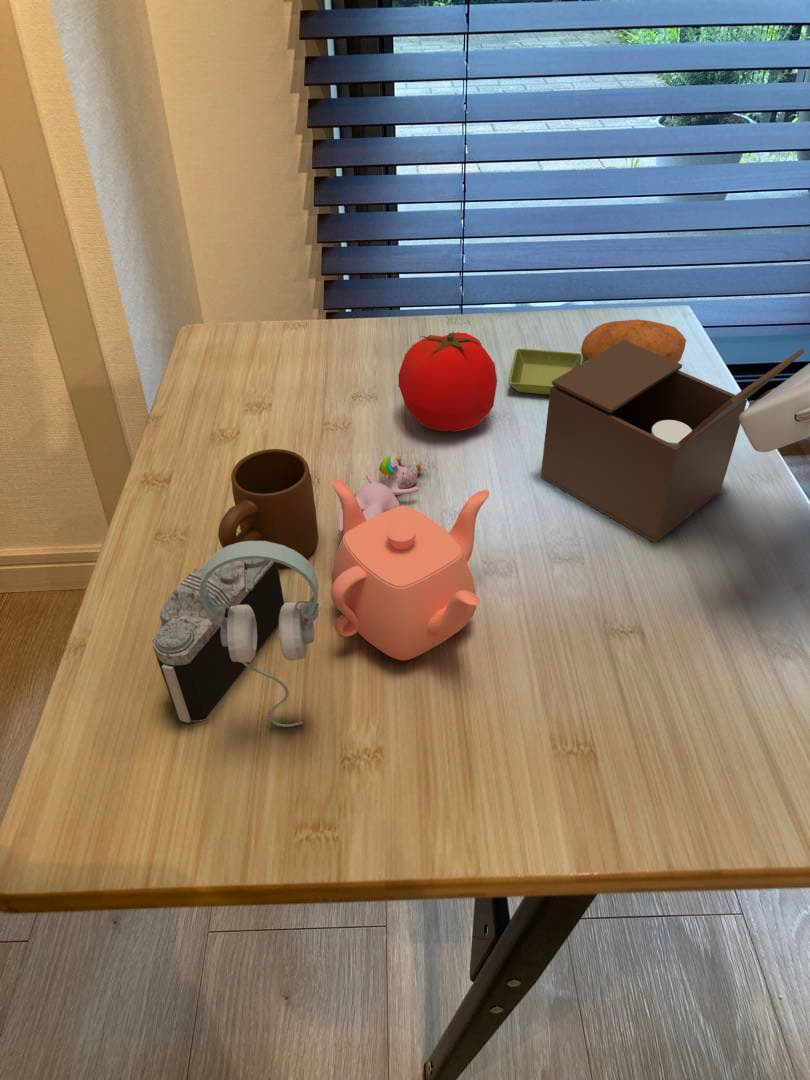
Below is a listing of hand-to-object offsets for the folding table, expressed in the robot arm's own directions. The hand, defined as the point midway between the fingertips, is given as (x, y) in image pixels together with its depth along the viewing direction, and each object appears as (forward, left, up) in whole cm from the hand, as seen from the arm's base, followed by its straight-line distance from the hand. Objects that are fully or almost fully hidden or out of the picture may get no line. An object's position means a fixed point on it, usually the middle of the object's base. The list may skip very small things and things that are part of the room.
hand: (759, 407), depth 75 cm
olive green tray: (+33, 0, -15) cm, 36 cm away
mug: (+17, +42, -15) cm, 48 cm away
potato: (+31, -11, -15) cm, 36 cm away
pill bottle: (+7, +2, -15) cm, 17 cm away
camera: (+7, +50, -15) cm, 53 cm away
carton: (+11, +3, -15) cm, 19 cm away
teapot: (+4, +32, -15) cm, 36 cm away
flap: (+2, 0, 0) cm, 2 cm away
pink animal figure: (+19, +29, -15) cm, 38 cm away
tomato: (+31, +15, -15) cm, 38 cm away
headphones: (-3, +47, -15) cm, 50 cm away
